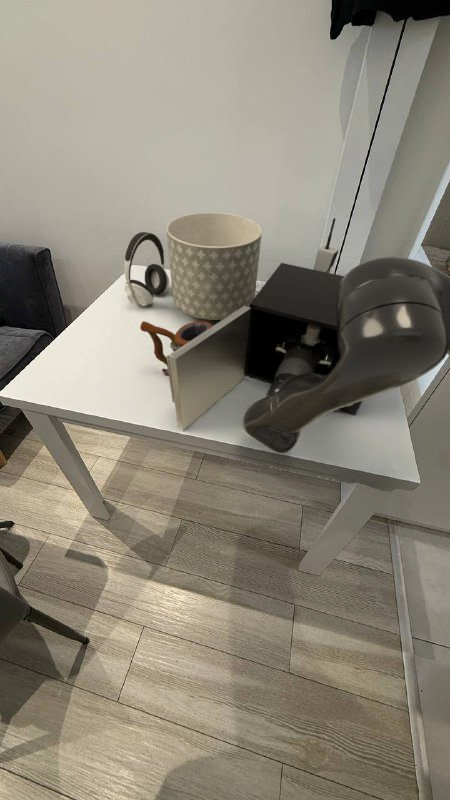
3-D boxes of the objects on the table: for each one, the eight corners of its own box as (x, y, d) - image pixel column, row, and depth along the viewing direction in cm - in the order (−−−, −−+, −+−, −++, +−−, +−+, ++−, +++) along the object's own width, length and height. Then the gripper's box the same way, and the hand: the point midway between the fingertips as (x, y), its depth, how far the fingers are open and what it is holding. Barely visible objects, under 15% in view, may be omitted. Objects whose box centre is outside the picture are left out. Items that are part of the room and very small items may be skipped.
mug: (140, 386, 78) (129, 334, 67) (157, 356, 86) (149, 306, 75) (213, 399, 76) (214, 347, 65) (224, 367, 84) (225, 316, 73)
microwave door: (165, 418, 71) (153, 345, 57) (226, 369, 83) (230, 298, 69) (182, 431, 69) (175, 358, 55) (243, 378, 81) (250, 308, 67)
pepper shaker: (301, 363, 82) (310, 331, 75) (295, 353, 85) (303, 322, 78) (316, 361, 83) (325, 330, 76) (309, 352, 86) (318, 320, 79)
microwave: (354, 418, 73) (389, 346, 59) (239, 381, 81) (245, 309, 66) (368, 356, 89) (398, 287, 74) (270, 330, 96) (281, 262, 82)
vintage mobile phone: (319, 305, 107) (342, 222, 88) (306, 300, 109) (325, 218, 90) (324, 300, 109) (347, 219, 91) (311, 295, 111) (331, 214, 93)
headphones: (145, 316, 99) (133, 249, 84) (122, 310, 101) (106, 243, 87) (175, 288, 111) (170, 225, 97) (154, 283, 113) (146, 220, 99)
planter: (227, 341, 91) (230, 256, 74) (157, 314, 100) (146, 231, 83) (266, 303, 106) (277, 224, 89) (203, 282, 115) (202, 206, 98)
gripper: (333, 369, 66) (347, 327, 77) (266, 350, 70) (288, 312, 80) (323, 395, 71) (338, 352, 82) (261, 376, 75) (283, 337, 86)
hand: (313, 333), depth 81 cm, fingers closed on pepper shaker, 5 cm apart
